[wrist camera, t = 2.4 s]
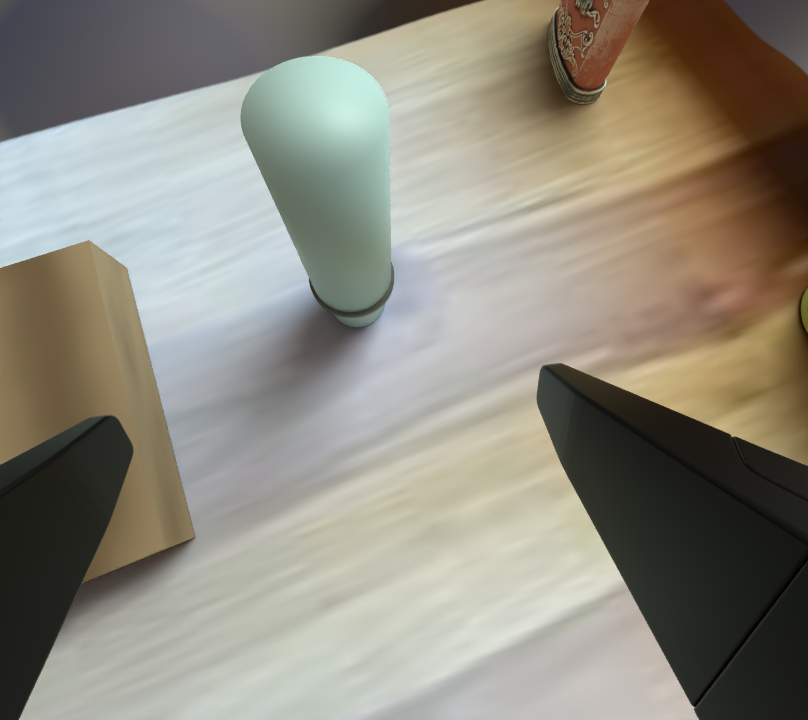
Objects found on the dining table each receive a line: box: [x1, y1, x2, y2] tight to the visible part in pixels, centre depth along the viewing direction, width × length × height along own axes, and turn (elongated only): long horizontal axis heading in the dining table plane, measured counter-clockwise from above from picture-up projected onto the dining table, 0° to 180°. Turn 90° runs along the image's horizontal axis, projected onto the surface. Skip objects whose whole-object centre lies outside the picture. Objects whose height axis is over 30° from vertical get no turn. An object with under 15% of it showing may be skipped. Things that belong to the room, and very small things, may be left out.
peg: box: [241, 56, 394, 327], centre depth 17 cm, size 4×4×13 cm
